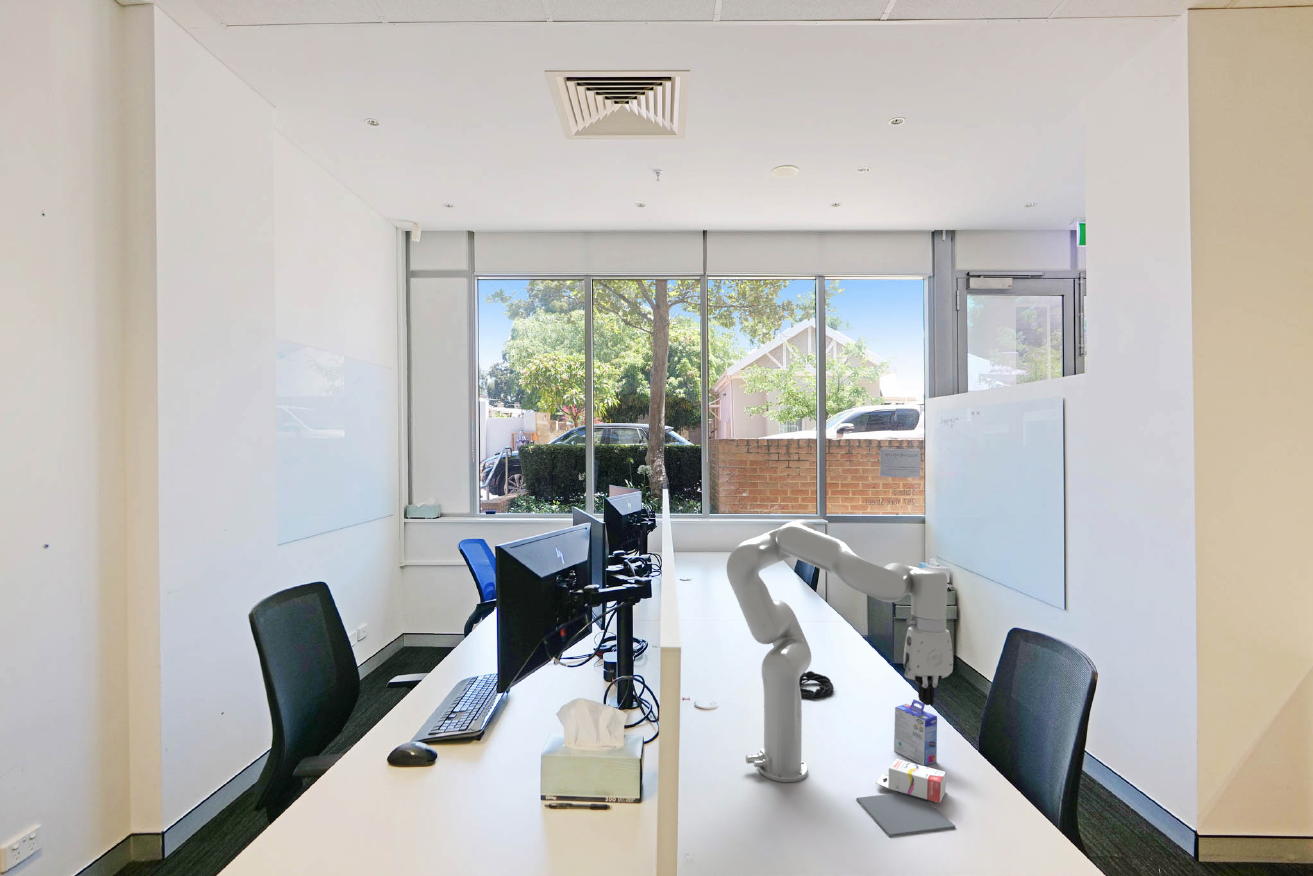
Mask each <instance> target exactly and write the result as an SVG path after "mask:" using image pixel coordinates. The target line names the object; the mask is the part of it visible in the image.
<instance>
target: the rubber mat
mask: <svg viewBox="0 0 1313 876" xmlns="http://www.w3.org/2000/svg"><path fill="white" fill-rule="evenodd" d="M855 799H856V802H857V803H858V804H859V805H860V806H861V807H862V808H863V809H864V810H865V811H866V813H867V814H868V815H869V816H870V817H871V818H872V819H873V820H874V821H875V823H876V824H877V825H878V826H879V827H880V828H881V829H882V831H883V832H885V833H886V835H887V836H888V837H897V836H906V835H914V834H919V833H920V834H921V833H928V832H937V831H942V830H943V831H944V830H951V829H956V824H954V823H953V822H952V821H951V820H950V819H948V817H946V816H945V815H944V814H943V813H942V812H941V811H940V810H939V809H938V808H937V807H935V806H934V805H933V803H931V802H930V800H927V799H924V798H920V797H916V796H913V795H909V794H906V793H902V792H896V793H889V794H888V793H887V794H878V795H872V796H871V795H869V796H862V797H856V798H855Z"/></svg>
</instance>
